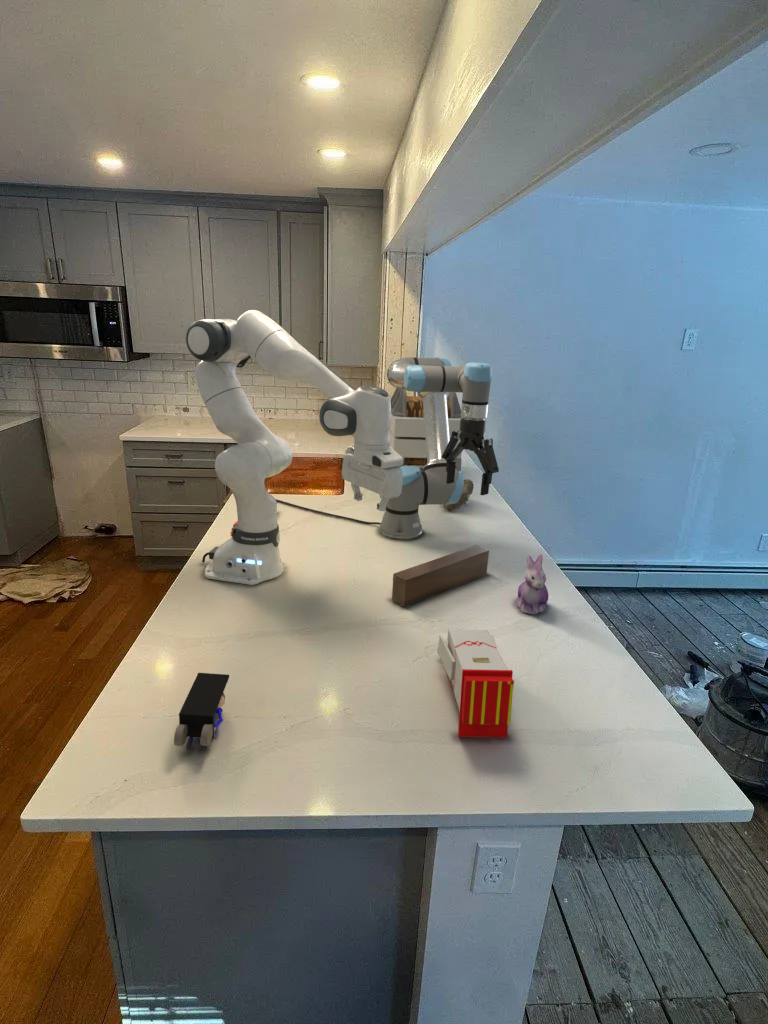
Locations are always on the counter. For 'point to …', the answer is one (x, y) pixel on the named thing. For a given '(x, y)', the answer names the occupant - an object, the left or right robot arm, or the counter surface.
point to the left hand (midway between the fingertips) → (369, 505)
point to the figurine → (533, 588)
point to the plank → (439, 575)
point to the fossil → (464, 497)
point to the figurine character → (201, 710)
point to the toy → (478, 682)
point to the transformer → (417, 427)
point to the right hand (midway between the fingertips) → (466, 488)
